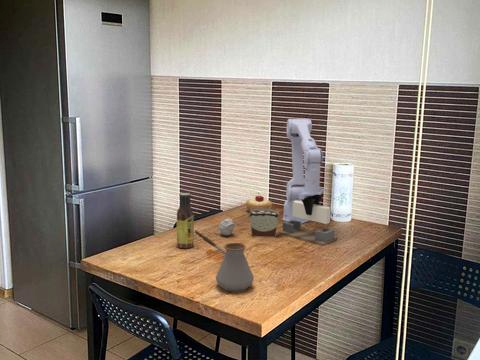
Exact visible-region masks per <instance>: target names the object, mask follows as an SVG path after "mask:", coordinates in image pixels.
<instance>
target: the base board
mask: <svg viewBox="0 0 480 360" xmlns="http://www.w3.org/2000/svg"><path fill="white" fill-rule="evenodd" d="M278 234H279V235H281V236H286V237H289V238H293V239H297V240H301V241H304V242H308V243H311V244H316V245H318V246H326V245H327V244H330V243H332V242H335V241H337V240H338V237H336V236H334V239H332V240H330V241H327V242H322V241H319V240H315V231H313V230H309V229H306V228H305V229H304V228H301V230H300V231H299V230H295V229H294V232H293V233H288V232H285V231H283V230H280V231H279V232H278Z"/></svg>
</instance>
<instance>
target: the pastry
mask: <svg viewBox="0 0 480 360" xmlns="http://www.w3.org/2000/svg"><path fill="white" fill-rule="evenodd" d="M257 193H258V195H256V196H255V197H254V198H249V199H247V200H246V202H245V206H246V210H247V211H248V212H249V213H250V211H252V210H255V209H272V208H273V203H272V201H271V200H269V199H267V198H265V197H264V196H263V195H260V192H257Z"/></svg>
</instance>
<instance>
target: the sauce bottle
mask: <svg viewBox="0 0 480 360" xmlns="http://www.w3.org/2000/svg"><path fill="white" fill-rule="evenodd" d="M191 197H192V195H191V193H189V192H181V193H179V207H178V208H177V211H176V245H177V248H179V249H190V248H192V247H193V246H194V241H195V240H194V239H195V233H194V232H195V231H194V230H195V229H194V228H195V226H194V225H195V221H194V219H195V217H194V216H195V214H194V212H193V210H192V206H191ZM193 233H194V234H193ZM192 235H193V236H192Z"/></svg>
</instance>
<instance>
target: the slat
mask: <svg viewBox="0 0 480 360" xmlns="http://www.w3.org/2000/svg"><path fill="white" fill-rule="evenodd" d="M292 216H294V217H298V218H302V219H307V220H310V221H312V222H317V223H321V224H324V225H327V224H330V222H331V207H330V206H325V205H320V204H319V205H316V204H313V208H312V214H311V215H306V211H305V207H304V204H303V202H301V201H293V213H292Z"/></svg>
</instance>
